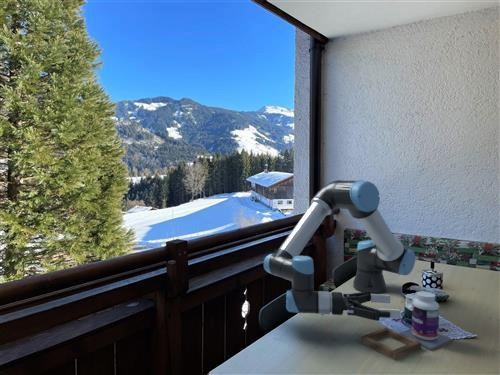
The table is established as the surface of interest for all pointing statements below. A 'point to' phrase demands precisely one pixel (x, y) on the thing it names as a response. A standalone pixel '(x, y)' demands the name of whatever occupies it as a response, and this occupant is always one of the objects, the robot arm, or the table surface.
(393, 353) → the walnut frame
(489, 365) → the table surface
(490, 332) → the table surface
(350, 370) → the table surface
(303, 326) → the table surface
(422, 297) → the pill bottle
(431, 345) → the slate coaster
